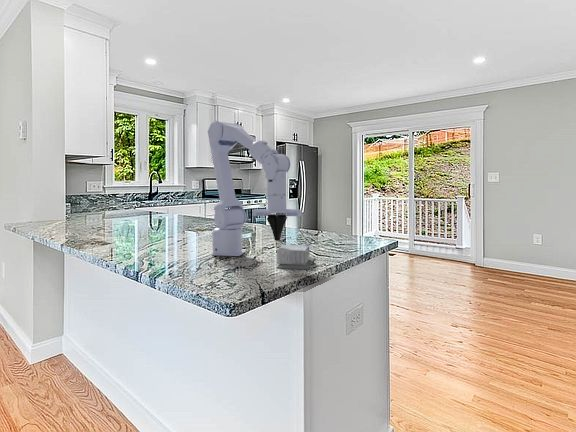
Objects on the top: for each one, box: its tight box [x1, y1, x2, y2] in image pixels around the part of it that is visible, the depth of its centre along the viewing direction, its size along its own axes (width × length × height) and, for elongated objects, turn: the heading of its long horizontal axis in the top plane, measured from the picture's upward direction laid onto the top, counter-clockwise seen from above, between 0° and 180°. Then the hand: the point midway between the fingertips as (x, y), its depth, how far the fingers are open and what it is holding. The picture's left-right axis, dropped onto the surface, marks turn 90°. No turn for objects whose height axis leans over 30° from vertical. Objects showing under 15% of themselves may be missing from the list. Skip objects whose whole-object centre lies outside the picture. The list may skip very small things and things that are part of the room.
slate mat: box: [276, 257, 316, 271], centre depth 110 cm, size 9×14×1 cm, turn 168°
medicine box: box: [276, 244, 310, 265], centre depth 110 cm, size 8×4×9 cm
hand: (277, 240), depth 111 cm, fingers closed
